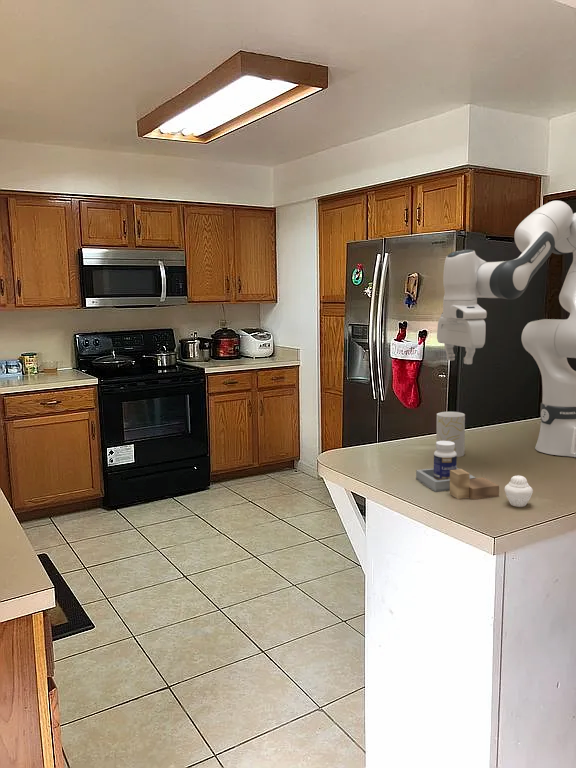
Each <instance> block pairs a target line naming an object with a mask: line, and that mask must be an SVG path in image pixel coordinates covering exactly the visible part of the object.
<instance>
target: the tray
mask: <svg viewBox="0 0 576 768" xmlns="http://www.w3.org/2000/svg"><path fill="white" fill-rule="evenodd" d="M457 469H460V468H458V467H457ZM433 476H434V467H433V468H422V469H421V468H420V469H416V470H415V479H416V481H418V482H419V483H421V484H422V485H425V486H426V487H428V488H429V489H431V490H432V491H433V492H435V493H437V492H439V493H440V492H446V491H450V479H447V480H438V481H437V480H436V479H434V477H433ZM474 478H477V477H476V476H474V475H472V474H470V479H474Z"/></svg>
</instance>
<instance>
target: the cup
mask: <svg viewBox="0 0 576 768" xmlns="http://www.w3.org/2000/svg"><path fill="white" fill-rule="evenodd" d="M465 423H466V414H465V413H463V412H460V411H441V412H438V413H436V439H435V440H436V441H435V443H436V442H437V441H451V442H454V443H455V448H454V451H455V452H456V454H457V458H460V457H463V456H465V444H466V443H465V437H466V436H465V435H466V431H465V427H466V424H465ZM435 448H436V447H435ZM436 450H437V448H436V449H435V451H436Z"/></svg>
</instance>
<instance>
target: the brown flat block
mask: <svg viewBox="0 0 576 768" xmlns="http://www.w3.org/2000/svg"><path fill="white" fill-rule="evenodd" d="M496 497H500V485H499V484H497V483H495V482H493V481H491V480H489V479H488V478H485V477H476V478H474V479H470V483H469V498H468V499H470V500H471V501H472V500H473V501H474V500H480V499H489V498H496Z"/></svg>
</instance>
